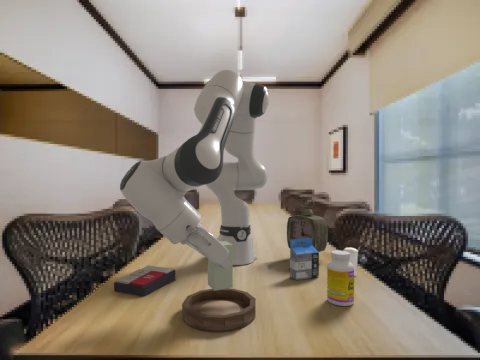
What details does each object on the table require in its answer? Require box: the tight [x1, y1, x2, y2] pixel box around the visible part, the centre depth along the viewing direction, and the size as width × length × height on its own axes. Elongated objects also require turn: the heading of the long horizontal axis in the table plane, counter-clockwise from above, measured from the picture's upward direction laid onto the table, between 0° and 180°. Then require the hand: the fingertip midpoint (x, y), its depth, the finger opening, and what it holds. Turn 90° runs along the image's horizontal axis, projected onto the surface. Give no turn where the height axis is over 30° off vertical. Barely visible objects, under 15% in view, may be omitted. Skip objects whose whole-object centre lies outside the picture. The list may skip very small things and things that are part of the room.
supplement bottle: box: [326, 249, 355, 307], centre depth 76 cm, size 7×7×13 cm
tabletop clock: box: [286, 197, 329, 253], centre depth 118 cm, size 14×9×25 cm, turn 38°
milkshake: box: [343, 245, 361, 277], centre depth 98 cm, size 4×5×10 cm
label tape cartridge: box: [289, 238, 320, 281], centre depth 96 cm, size 9×4×12 cm, turn 112°
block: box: [207, 241, 234, 291], centre depth 69 cm, size 4×4×10 cm
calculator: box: [113, 265, 177, 297], centre depth 88 cm, size 11×4×15 cm
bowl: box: [181, 288, 257, 333], centre depth 69 cm, size 17×17×3 cm
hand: (222, 262), depth 69 cm, fingers closed on block, 4 cm apart
